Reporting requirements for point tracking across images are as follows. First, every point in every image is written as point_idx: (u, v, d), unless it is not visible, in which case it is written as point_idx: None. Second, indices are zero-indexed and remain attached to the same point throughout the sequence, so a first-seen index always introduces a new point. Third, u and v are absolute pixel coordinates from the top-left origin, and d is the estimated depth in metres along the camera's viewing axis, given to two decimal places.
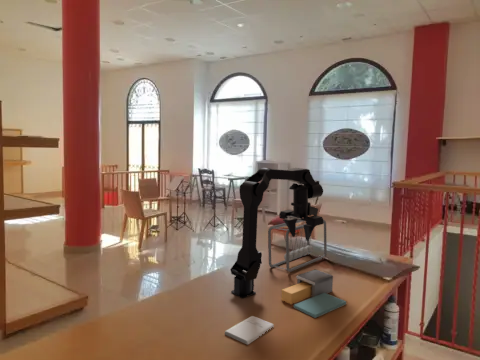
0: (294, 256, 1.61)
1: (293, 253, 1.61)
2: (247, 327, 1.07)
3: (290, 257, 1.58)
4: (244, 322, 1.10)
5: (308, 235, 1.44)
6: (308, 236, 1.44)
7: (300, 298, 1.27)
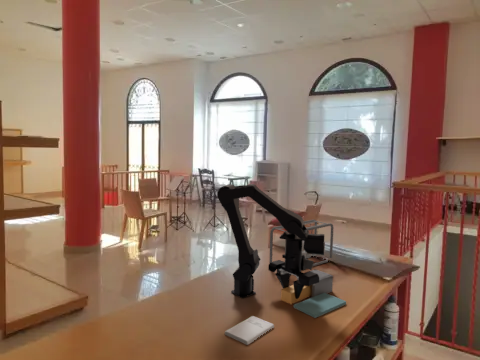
0: None
1: None
2: (247, 327, 1.07)
3: None
4: (244, 322, 1.09)
5: (298, 293, 1.25)
6: (298, 294, 1.25)
7: (300, 298, 1.28)
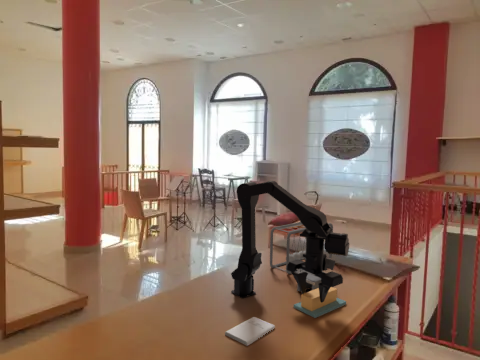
0: (296, 258, 1.60)
1: (295, 255, 1.60)
2: (248, 328, 1.06)
3: (291, 259, 1.57)
4: (245, 323, 1.09)
5: (323, 296, 1.16)
6: (323, 297, 1.17)
7: (321, 303, 1.20)
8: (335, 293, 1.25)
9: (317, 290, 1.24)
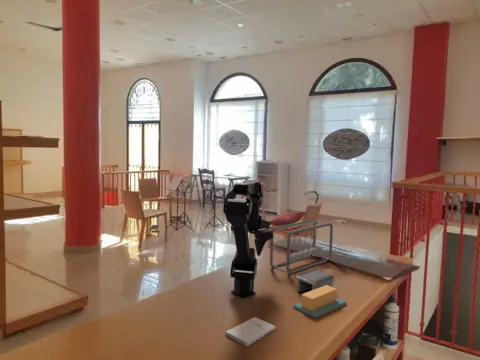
0: (296, 258, 1.60)
1: (295, 255, 1.60)
2: (248, 328, 1.06)
3: (292, 259, 1.57)
4: (246, 323, 1.09)
5: (259, 250, 1.39)
6: (259, 251, 1.39)
7: (321, 303, 1.20)
8: (335, 293, 1.25)
9: (317, 290, 1.24)
